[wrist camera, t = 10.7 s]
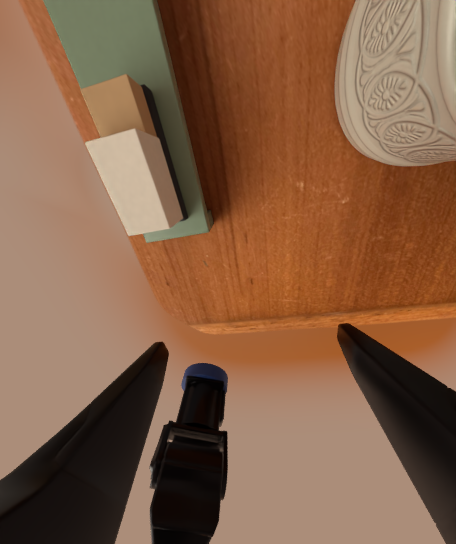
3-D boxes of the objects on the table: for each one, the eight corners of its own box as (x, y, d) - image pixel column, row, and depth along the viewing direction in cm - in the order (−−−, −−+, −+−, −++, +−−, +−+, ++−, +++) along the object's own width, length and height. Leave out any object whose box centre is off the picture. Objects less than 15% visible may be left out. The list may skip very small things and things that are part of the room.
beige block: (188, 217, 15) (172, 231, 11) (153, 224, 15) (128, 239, 12) (152, 90, 11) (111, 52, 8) (107, 104, 12) (50, 74, 8)
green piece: (159, 233, 19) (146, 243, 16) (9, -162, 9) (-85, -297, 6) (214, 223, 18) (209, 232, 15) (112, -227, 8) (51, -414, 6)
